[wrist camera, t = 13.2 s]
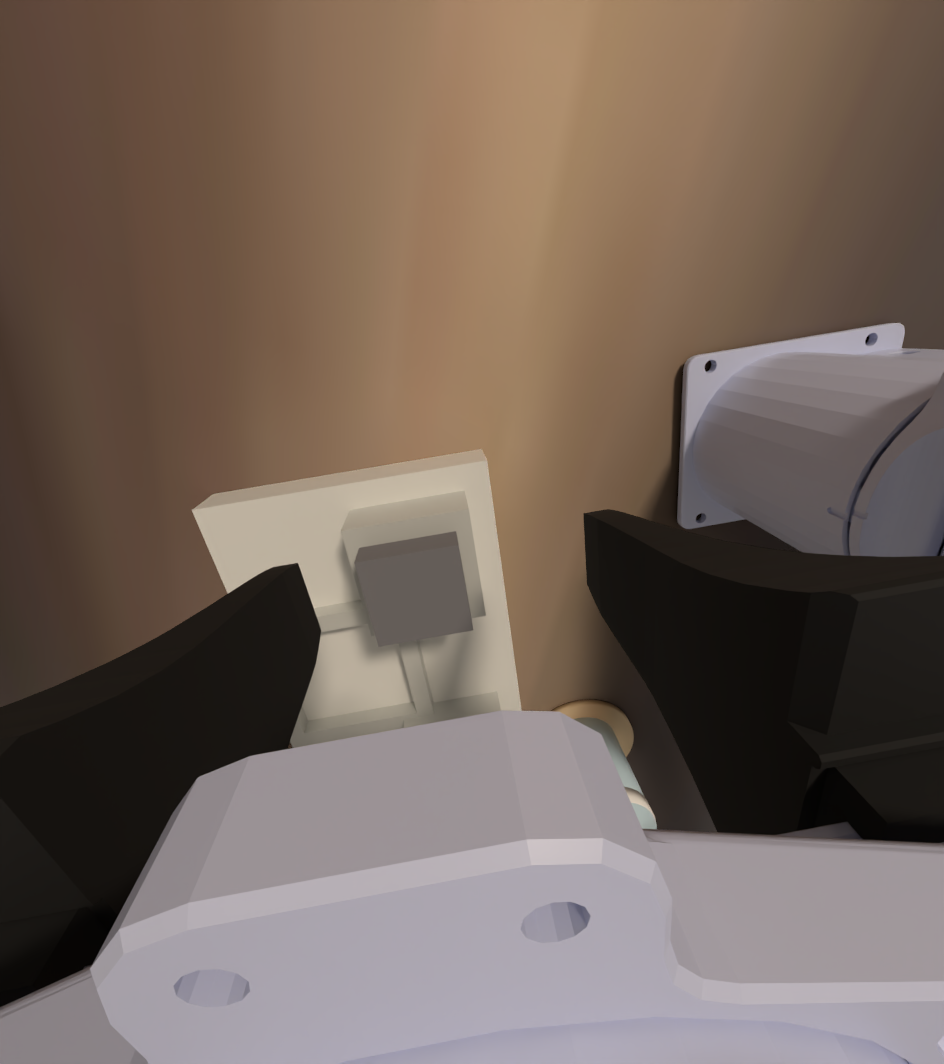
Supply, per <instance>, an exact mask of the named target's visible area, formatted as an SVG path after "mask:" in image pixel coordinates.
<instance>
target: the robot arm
mask: <svg viewBox="0 0 944 1064" xmlns="http://www.w3.org/2000/svg"><path fill="white" fill-rule="evenodd" d="M904 334H905V329H904V326H903V325H902V324H900V323H887V324H881V325H875V326H869V327H863V328H857V329H851V330H845V331H839V332H833V333H827V334H821V335H815V336H809V337H803V338H797V339H791V340H785V341H779V342H773V343H767V344H761V345H755V346H749V347H743V348H737V349H730V350H724V351H718V352H712V353H706V354H700V355H695V356H692V357H690V358H689V359H688V360H687V361H686V363H685V364H684V369H683V388H682V413H681V437H680V462H679V486H678V510H677V521H678V524H679V525H680V526H682V527H683V528H685V529H693V528H699V527H704V526H710V525H716V524H722V523H727V522H733V521H739V520H745V519H746V520H748V521H750V522H751V523H753V524H755V525H756V526H758V527H760V528H762V529H763V530H765V531H767V532H768V533H770V534H772V535H774V536H775V537H777V538H779V539H780V540H782V541H784V542H785V543H787V544H789V545H791V546H792V547H794V548H796V549H797V550H799V551H801V552H795V551H785V550H776V549H769V548H761V547H755V546H749V545H744V544H738V543H732V542H727V541H722V540H718V539H713V538H709V537H705V536H701V535H697V534H693V533H689V532H686V531H682V530H679V529H675V528H672V527H668V526H665V525H662V524H659V523H655V522H652V521H649V520H646V519H643V518H640V517H636V516H633V515H630V514H626V513H623V512H619V511H615V510H609V509H607V510H601V511H595V512H590V513H584V532H585V552H586V572H587V585H588V587H589V589H590V592H591V594H592V596H593V598H594V601H595V603H596V605H597V607H598V609H599V611H600V613H601V615H602V617H603V618H604V620H605V622H606V623H607V625H608V626H609V628H610V629H611V631H612V632H613V634H614V636H615V637H616V639H617V640H618V642H619V643H620V645H621V646H622V648H623V649H624V651H625V652H626V654H627V655H628V657H629V658H630V660H631V662H632V663H633V665H634V666H635V668H636V669H637V671H638V672H639V674H640V675H641V677H642V678H643V680H644V681H645V683H646V685H647V687H648V688H649V690H650V692H651V693H652V695H653V697H654V699H655V701H656V703H657V705H658V707H659V709H660V711H661V712H662V714H663V716H664V718H665V720H666V722H667V724H668V726H669V728H670V730H671V732H672V734H673V736H674V738H675V741H676V743H677V745H678V747H679V749H680V751H681V753H682V755H683V757H684V759H685V762H686V764H687V766H688V768H689V770H690V772H691V774H692V776H693V778H694V781H695V783H696V785H697V787H698V790H699V792H700V794H701V796H702V799H703V801H704V803H705V805H706V807H707V810H708V812H709V814H710V816H711V819H712V821H713V823H714V825H715V827H716V830H717V832H700V831H680V830H660V829H642V827H641V825H640V822H639V820H638V818H637V816H636V813H635V811H634V809H633V806H632V804H631V802H630V799H629V797H628V795H627V792H626V790H625V788H624V785H623V783H622V781H621V779H620V776H619V774H618V772H617V769H616V767H615V765H614V762H613V760H612V758H611V756H610V753H609V751H608V749H607V746H606V744H605V742H604V739H603V737H602V735H601V734H600V733H598V732H596V731H594V730H593V729H591V728H589V727H587V726H585V725H583V724H581V723H579V722H578V721H576V720H574V719H572V718H570V717H568V716H566V715H565V714H563V713H561V712H556V711H511V710H500V711H495V712H489V713H484V714H478V715H473V716H467V717H461V718H456V719H450V720H445V721H439V722H434V723H428V724H423V725H417V726H412V727H406V728H401V729H395V730H390V731H384V732H379V733H373V734H368V735H362V736H357V737H351V738H346V739H340V740H335V741H329V742H323V743H318V744H312V745H307V746H301V747H296V748H290V749H288V745H289V742H290V739H291V737H292V734H293V731H294V728H295V725H296V722H297V719H298V716H299V713H300V710H301V707H302V704H303V701H304V699H305V696H306V693H307V690H308V687H309V684H310V681H311V678H312V675H313V671H314V668H315V665H316V660H317V655H318V649H319V643H320V636H321V628H320V625H319V622H318V619H317V616H316V614H315V611H314V608H313V605H312V602H311V599H310V596H309V593H308V590H307V588H306V585H305V582H304V579H303V576H302V573H301V570H300V567H299V564H298V563H294V564H288V565H282V566H276V567H272V568H270V569H268V570H266V571H264V572H262V573H260V574H258V575H257V576H255V577H253V578H252V579H250V580H248V581H247V582H245V583H244V584H242V585H241V586H239V587H237V588H236V589H234V590H233V591H231V592H230V593H228V594H227V595H225V596H224V597H222V598H221V599H219V600H218V601H216V602H214V603H213V604H211V605H210V606H208V607H207V608H205V609H203V610H202V611H200V612H199V613H197V614H195V615H194V616H192V617H190V618H189V619H187V620H186V621H184V622H182V623H181V624H179V625H177V626H176V627H174V628H172V629H171V630H169V631H167V632H166V633H164V634H162V635H160V636H159V637H157V638H155V639H153V640H151V641H149V642H148V643H146V644H144V645H142V646H140V647H138V648H136V649H134V650H132V651H130V652H128V653H126V654H124V655H123V656H121V657H119V658H116V659H114V660H112V661H110V662H108V663H106V664H104V665H101V666H99V667H97V668H95V669H93V670H90V671H88V672H86V673H84V674H81V675H79V676H77V677H75V678H72V679H70V680H68V681H66V682H63V683H61V684H59V685H57V686H54V687H52V688H49V689H47V690H44V691H42V692H39V693H37V694H34V695H32V696H29V697H27V698H24V699H22V700H19V701H17V702H14V703H11V704H8V705H6V706H3V707H0V1064H944V350H937V349H906V348H902V343H903V339H904ZM868 335H869V340H868V342H867V343H866V344H865V340H866V338H867V336H868ZM709 360H710V361H711V364H712V365H711V368H710V369H709V371H707V372H706V371H705V368H704V367H705V364H706V363H707V362H708V361H709ZM701 513H702V515H701V517H700V519H698V520H696V516H697V515H698V514H701Z"/></svg>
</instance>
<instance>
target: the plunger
mask: <svg viewBox="0 0 944 1064" xmlns="http://www.w3.org/2000/svg"><path fill="white" fill-rule="evenodd" d="M354 564H355V568H356V571H357V574H358V578H359V581H360V585H361V588H362V592H363V595H364V599H365V602H366V606H367V609H368V613H369V616H370V620H371V623H372V626H373V630H374V633H375V637H376V640H377V644H378V647H382V646H387V645H393V644H399V643H404V642H410V641H416V640H421V639H427V638H433V637H438V636H444V635H450V634H455V633H461V632H467V631H472V630H473V625H472V618H471V612H470V606H469V601H468V595H467V589H466V584H465V578H464V573H463V567H462V561H461V556H460V550H459V544H458V539H457V533H456V531H454V532H448V533H442V534H437V535H431V536H425V537H419V538H413V539H408V540H402V541H396V542H390V543H384V544H378V545H373V546H367V547H361V548H359V549H358V553H357V556H356V559H355V562H354Z"/></svg>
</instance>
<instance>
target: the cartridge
mask: <svg viewBox="0 0 944 1064" xmlns="http://www.w3.org/2000/svg"><path fill="white" fill-rule="evenodd" d="M574 720H576V721H578V722H579V723H581V724H583V725H585V726H587V727H589V728H591V729H593V730H594V731H596V732H598V733H600V734H601V735H602V737H603V739H604V742H605V744H606V746H607V749H608V751H609V753H610V756H611V758H612V760H613V762H614V765H615V767H616V769H617V772H618V774H619V776H620V779H621V781H622V783H623V785H624V788H625V790H626V792H627V795H628V797H629V799H630V802H631V804H632V806H633V809H634V811H635V813H636V816H637V818H638V820H639V822H640V825H641V827H642V829H657V824H656V819H655V816H654V814H653V812H652V810H651V808H650V806H649V803H648V801H647V799H646V798H645V797H644V795H643V793H642V791H641V789H640V786H639V784H638V782H637V780H636V778H635V776H634V774H633V771H632V769H631V767H630V765H629V763H628V761H627V759H626V756H625V754H624V752H623V750H622V748H621V746H620V743H619V741H618V739H617V737H616V735H615V733H614V731H613V729H612V728H611V726H610V725H609V724H608V723H606V722H604V721H602V720H600V719H597V718H591V717H582V718H576V719H574Z"/></svg>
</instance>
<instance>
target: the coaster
mask: <svg viewBox="0 0 944 1064" xmlns="http://www.w3.org/2000/svg"><path fill="white" fill-rule="evenodd" d="M552 711H556V712H561V713H563V714H565V715H566V716H568V717H570V718H572V719H576V718H582V717H591V718H597V719H600V720H602V721H604V722H606V723H608V724H609V725H610V726H611V728H612V729H613V731H614V733H615V735H616V737H617V739H618V741H619V743H620V746H621V748H622V750H623V752H624V754H625V756H626V757H627V756H628V754H629V752H630V750H631V748H632V745H633V740H634V734H633V729H632V726H631V724H630V722H629V720H628V718H627V716H626V715H625V714H624V712H623V711H621V710H620V709H619V708H618V707H616V706H615V705H613V704H611V703H608V702H605V701H600V700H578V701H573V702H569V703H566V704H563V705H561V706H559V707H557V708H555V709H553V710H552Z"/></svg>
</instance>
